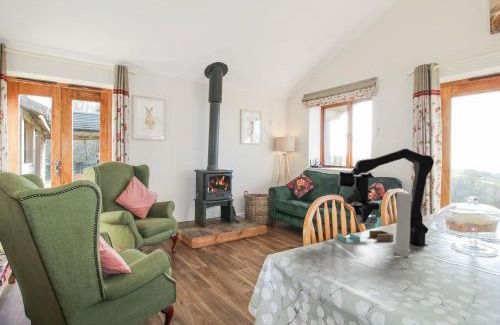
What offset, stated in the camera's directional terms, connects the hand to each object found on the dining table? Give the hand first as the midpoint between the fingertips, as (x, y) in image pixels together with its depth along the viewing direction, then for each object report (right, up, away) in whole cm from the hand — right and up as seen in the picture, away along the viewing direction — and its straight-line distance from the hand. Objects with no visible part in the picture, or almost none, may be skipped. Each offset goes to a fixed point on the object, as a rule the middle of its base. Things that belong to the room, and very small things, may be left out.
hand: (361, 221), depth 130 cm
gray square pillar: (+9, -10, -18) cm, 22 cm away
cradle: (-6, -9, 0) cm, 10 cm away
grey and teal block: (+3, -1, 0) cm, 3 cm away
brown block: (+9, -9, +2) cm, 13 cm away
